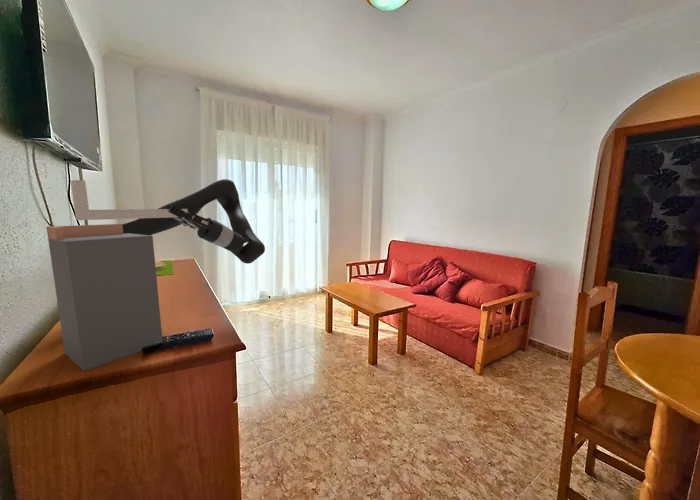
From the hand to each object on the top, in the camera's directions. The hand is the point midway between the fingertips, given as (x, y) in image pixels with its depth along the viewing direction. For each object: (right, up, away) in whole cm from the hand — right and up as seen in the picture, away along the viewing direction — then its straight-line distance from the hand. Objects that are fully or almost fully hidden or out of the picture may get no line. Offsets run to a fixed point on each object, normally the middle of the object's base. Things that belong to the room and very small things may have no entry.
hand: (168, 208), depth 89 cm
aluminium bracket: (-5, -4, -6) cm, 9 cm away
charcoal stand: (-12, -41, -5) cm, 43 cm away
